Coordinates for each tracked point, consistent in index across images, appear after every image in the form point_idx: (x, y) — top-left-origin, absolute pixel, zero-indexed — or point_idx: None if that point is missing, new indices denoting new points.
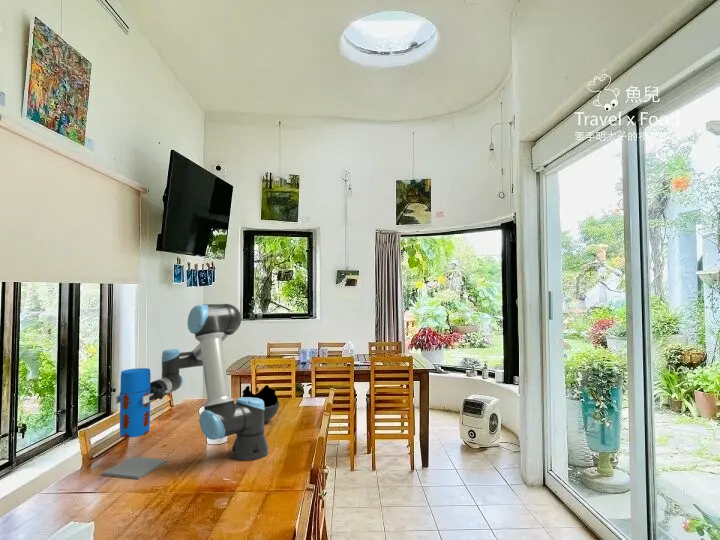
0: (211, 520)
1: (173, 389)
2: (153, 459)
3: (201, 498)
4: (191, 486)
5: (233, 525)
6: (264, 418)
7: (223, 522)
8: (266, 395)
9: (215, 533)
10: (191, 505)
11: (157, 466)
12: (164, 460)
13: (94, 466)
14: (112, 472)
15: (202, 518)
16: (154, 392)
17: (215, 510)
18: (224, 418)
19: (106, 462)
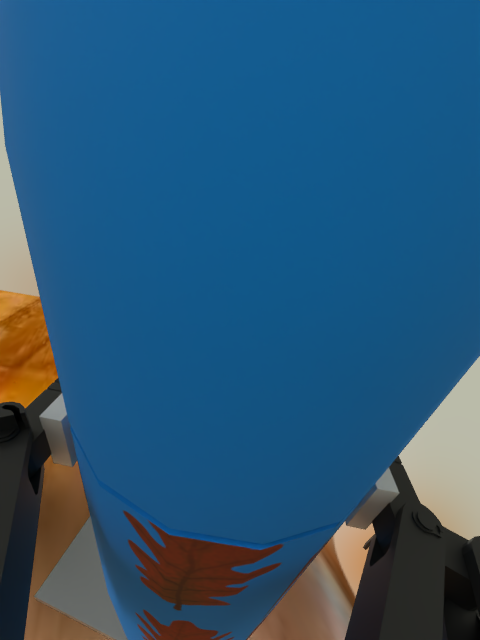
0: (29, 310)
1: None
2: (100, 614)
3: (18, 352)
4: (18, 392)
5: (6, 300)
6: None
7: (15, 305)
8: None
9: (35, 296)
10: (44, 339)
11: (87, 521)
12: (50, 590)
13: (324, 579)
14: None
15: (39, 315)
16: (24, 413)
17: (12, 324)
18: None
19: (309, 635)
